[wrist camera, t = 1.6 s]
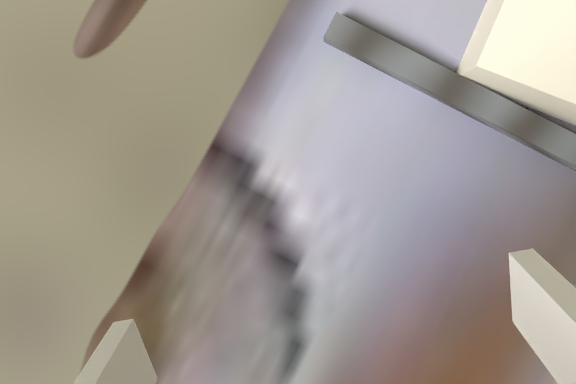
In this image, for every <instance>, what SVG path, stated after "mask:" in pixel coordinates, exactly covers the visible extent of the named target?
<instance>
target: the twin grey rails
mask: <svg viewBox="0 0 576 384" xmlns="http://www.w3.org/2000/svg"><path fill="white" fill-rule="evenodd" d="M324 42H325V43H327V44H329V45H331V46H333V47H335V48H337V49H339V50H341V51H343V52H345V53H347V54H349V55H351V56H353V57H355V58H357V59H359V60H360V61H362V62H364V63H366V64H368V65H370V66H372V67H374V68H376V69H378V70H380V71H382V72H384V73H386V74H388V75H390V76H392V77H394V78H396V79H398V80H399V81H401V82H403V83H405V84H407V85H409V86H411V87H413V88H415V89H417V90H419V91H421V92H423V93H425V94H427V95H429V96H431V97H433V98H435V99H437V100H438V101H440V102H442V103H444V104H446V105H448V106H450V107H452V108H454V109H456V110H458V111H460V112H462V113H464V114H466V115H468V116H470V117H472V118H474V119H476V120H477V121H479V122H481V123H483V124H485V125H487V126H489V127H491V128H493V129H495V130H497V131H499V132H501V133H503V134H505V135H507V136H509V137H511V138H513V139H515V140H516V141H518V142H520V143H522V144H524V145H526V146H528V147H530V148H532V149H534V150H536V151H538V152H540V153H542V154H544V155H546V156H548V157H550V158H552V159H554V160H555V161H557V162H559V163H561V164H563V165H565V166H567V167H569V168H571V169H573V170H576V134H575V133H573V132H571V131H569V130H567V129H565V128H563V127H561V126H559V125H557V124H555V123H553V122H551V121H549V120H547V119H545V118H543V117H541V116H539V115H537V114H535V113H533V112H532V111H530V110H528V109H526V108H524V107H522V106H520V105H518V104H516V103H514V102H512V101H510V100H508V99H506V98H504V97H502V96H500V95H498V94H496V93H494V92H492V91H490V90H488V89H487V88H485V87H483V86H481V85H479V84H477V83H475V82H473V81H471V80H469V79H467V78H465V77H463V76H461V75H459V74H457V73H455V72H453V71H451V70H449V69H447V68H445V67H443V66H441V65H440V64H438V63H436V62H434V61H432V60H430V59H428V58H426V57H424V56H422V55H420V54H418V53H416V52H414V51H412V50H410V49H408V48H406V47H404V46H402V45H400V44H398V43H396V42H395V41H393V40H391V39H389V38H387V37H385V36H383V35H381V34H379V33H377V32H375V31H373V30H371V29H369V28H367V27H365V26H363V25H361V24H359V23H357V22H355V21H353V20H351V19H350V18H348V17H346V16H344V15H342V14H340V13H338V12H336V14H335V16H334V18H333V20H332V22H331V24H330V26H329V28H328V29H327V31H326V33H325V35H324Z"/></svg>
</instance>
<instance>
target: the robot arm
mask: <svg viewBox="0 0 576 384" xmlns="http://www.w3.org/2000/svg"><path fill="white" fill-rule="evenodd" d="M509 266H510V284H511V302H512V319H513V323H514V324H515V326H516V327H517V328H518V330H519V331H520V332H521V334H522V335H523V337H524V338H525V339H526V341H527V342H528V343H529V345H530V346H531V347H532V349H533V350H534V351H535V353H536V354H537V356H538V357H539V358H540V360H541V361H542V362H543V364H544V365H545V366H546V368H547V369H548V370H549V372H550V373H551V375H552V376H553V377H554V379H555V380H556V381H557V383H558V384H576V288H575V287H574V286H573V285H572V284H571V283H569V282H568V281H567V280H566V279H565V278H564V277H563V276H562V275H561V274H560V273H559V272H558V271H556V270H555V269H554V268H553V267H552V266H551V265H550V264H549V263H548V262H547V261H546V260H545V259H543V258H542V257H541V256H540V255H539V254H538V253H537V252H536V251H535V250H534V249H528V250H523V251H517V252H511V253H509ZM157 379H158V378H157V376H156V373H155V371H154V368H153V366H152V364H151V361H150V359H149V356H148V354H147V351H146V349H145V346H144V344H143V341H142V339H141V336H140V334H139V331H138V329H137V327H136V324H135V322H134V319H129V320H124V321H118V322H113V324H112V325H111V327H110V328H109V330H108V331H107V333H106V334H105V336H104V337H103V339H102V341H101V342H100V344H99V345H98V347H97V348H96V350H95V351H94V353H93V354H92V356H91V357H90V359H89V360H88V362H87V363H86V365H85V367H84V368H83V370H82V371H81V373H80V374H79V376H78V377H77V379H76V380H75V382H74V384H156V381H157Z"/></svg>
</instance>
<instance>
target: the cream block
mask: <svg viewBox="0 0 576 384" xmlns="http://www.w3.org/2000/svg"><path fill="white" fill-rule="evenodd" d="M456 73H457V74H459V75H461V76H463V77H465V78H467V79H469V80H471V81H473V82H475V83H477V84H479V85H481V86H483V87H485V88H487V89H488V90H490V91H492V92H494V93H496V94H498V95H500V96H502V97H504V98H506V99H508V100H511V101H513V102H516V103H518V104H521V105H524V106H526V107H529V108H531V109H534V110H537V111H539V112H542V113H544V114H547V115H549V116H552V117H555V118H557V119H560V120H562V121H565V122H567V123H570V124H573V125H575V126H576V0H487V2H486V4H485V7H484V9H483V11H482V14H481V16H480V18H479V21H478V23H477V25H476V28H475V30H474V32H473V35H472V37H471V39H470V42H469V44H468V46H467V49H466V51H465V53H464V56H463V58H462V60H461V63H460V65H459V67H458V70H457V72H456Z"/></svg>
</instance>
